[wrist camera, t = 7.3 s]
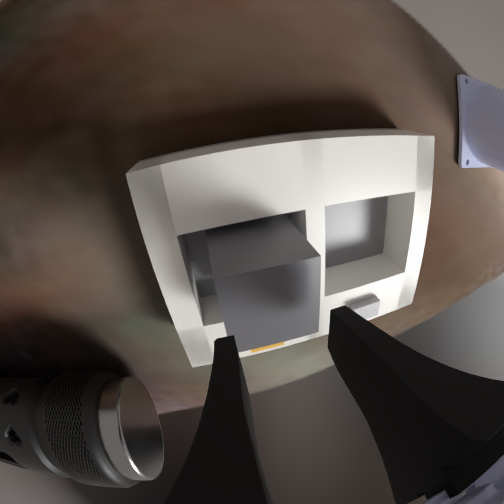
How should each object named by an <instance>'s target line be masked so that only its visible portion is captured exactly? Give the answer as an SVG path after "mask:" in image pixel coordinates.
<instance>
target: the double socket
mask: <svg viewBox="0 0 504 504" xmlns="http://www.w3.org/2000/svg"><path fill="white" fill-rule="evenodd" d="M433 166H434V136H432V135H427V134H423V133H419V132H414V131H409V130H404V129H399V128H360V129H335V130H320V131H307V132H296V133H286V134H277V135H269V136H261V137H254V138H247V139H240V140H234V141H228V142H222V143H216V144H211V145H206V146H201V147H196V148H191V149H186V150H181V151H177V152H172V153H168V154H164V155H160V156H156V157H152V158H148V159H144V160H140V161H139V162H138V163H136V164H135V165H134V166H133V167H132V168H131V169H130V170H129V171H128V172H127V173H126V177H127V181H128V185H129V189H130V193H131V197H132V200H133V204H134V208H135V211H136V215H137V218H138V222H139V225H140V228H141V232H142V235H143V238H144V241H145V245H146V248H147V251H148V254H149V257H150V260H151V263H152V266H153V269H154V272H155V274H156V277H157V280H158V283H159V286H160V288H161V291H162V294H163V297H164V299H165V302H166V305H167V307H168V310H169V312H170V315H171V317H172V320H173V322H174V325H175V327H176V330H177V332H178V335H179V337H180V339H181V342H182V344H183V346H184V349H185V351H186V353H187V356H188V358H189V360H190V362H191V365H192V367H197V366H202V365H208V364H213V356H214V341H215V340H216V339H217V338H222V337H226V336H227V333H226V329H225V325H224V321H223V317H222V313H221V309H220V305H219V301H218V297H217V292H216V288H215V284H214V280H213V274H212V268H211V262H210V256H209V250H208V243H207V237H206V230H205V229H210V228H215V227H219V226H224V225H229V224H234V223H239V222H244V221H249V220H254V219H259V218H264V217H269V216H274V215H279V214H284V215H285V216H286V217H287V218H288V219H289V220H290V221H291V222H292V224H293V225H294V226H295V227H296V228H297V229H298V230H299V231H300V233H301V234H302V235H303V236H304V237H305V238H306V239H307V240H308V242H309V243H310V244H311V245H312V246H313V247H314V248H315V250H316V251H317V252H318V253H319V254H320V255H321V287H320V315H319V332H317V333H314V334H310V335H307V336H303V337H299V338H296V339H292V340H288V341H285V342H281V343H277V344H273V345H269V346H265V347H261V348H256V349H252V350H248V351H243V352H239V357H240V358H241V357H245V356H249V355H254V354H258V353H262V352H266V351H270V350H274V349H277V348H281V347H285V346H289V345H292V344H296V343H299V342H303V341H306V340H310V339H313V338H316V337H320V336H323V335H326V334H329V323H330V310H331V309H334V308H338V307H341V306H344V305H346V306H347V307H349V308H350V309H352V310H353V311H355V312H356V313H357V314H359V315H360V316H362V317H363V318H365V319H366V320H367V321H368V320H371V319H373V318H376V317H379V316H381V315H384V314H387V313H389V312H392V311H394V310H397V309H399V308H402V307H404V306H407V305H409V304H412V301H413V297H414V293H415V289H416V285H417V280H418V276H419V271H420V267H421V262H422V257H423V251H424V246H425V240H426V234H427V227H428V220H429V212H430V203H431V194H432V182H433Z"/></svg>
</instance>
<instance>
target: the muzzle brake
mask: <svg viewBox="0 0 504 504" xmlns="http://www.w3.org/2000/svg"><path fill="white" fill-rule="evenodd" d="M163 451H164V450H163V438H162V431H161V427H160V422H159V419H158V415H157V412H156V409H155V406H154V404H153V401H152V399H151V397H150V395H149V392H148V391H147V389H146V387H145V386H144V385H143V383H142V382H141V381H140V380H138V379H137V378H134V377H123V378H121V377H120V376H119V375H116V374H114V373H112V372H109V371H106V370H97V371H85V372H72V373H65V374H62V375H59V376H56V378H55V379H53V378H51V377H38V378H23V377H4V378H2V377H0V461H2V462H5V463H8V464H12V465H14V466H18V467H21V468H25V469H29V470H32V471H36V472H40V473H45V474H49V475H54V476H59V477H64V478H66V477H71V478H73V479H74V480H76V481H78V482H81V483H83V484H89V485H97V486H106V487H107V486H108V487H119V488H127V487H131V486H133V485H135V484H137V483H139V482H140V481H141V480H153V479H154V478H157V477H158V475H159V474H160V472H161V469H162V465H163V457H164V452H163Z"/></svg>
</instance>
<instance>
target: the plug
mask: <svg viewBox="0 0 504 504" xmlns="http://www.w3.org/2000/svg"><path fill="white" fill-rule="evenodd" d="M205 230H206V237H207V243H208V250H209V256H210V262H211V268H212V274H213V280H214V284H215V288H216V292H217V297H218V301H219V305H220V309H221V313H222V317H223V321H224V325H225V329H226V333H227V336H231V335H234V337H235V341H236V345H237V349H238V353H239V352H243V351H248V350H252V349H256V348H261V347H265V346H269V345H273V344H277V343H281V342H285V341H288V340H292V339H296V338H299V337H303V336H307V335H310V334H314V333H317V332H319V315H320V287H321V255H320V254H319V253H318V252H317V251H316V250H315V248H314V247H313V246H312V245H311V244H310V243H309V242H308V240H307V239H306V238H305V237H304V236H303V235H302V234H301V233H300V231H299V230H298V229H297V228H296V227H295V226H294V225H293V224H292V222H291V221H290V220H289V219H288V218H287V217H286V216H285V215H284V214H279V215H274V216H269V217H264V218H259V219H254V220H249V221H244V222H239V223H234V224H229V225H224V226H219V227H215V228H210V229H205Z"/></svg>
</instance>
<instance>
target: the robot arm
mask: <svg viewBox="0 0 504 504" xmlns="http://www.w3.org/2000/svg"><path fill="white" fill-rule="evenodd" d="M457 84H458V99H459V158H458V164H459V166H460V167H462V168H477V167H494V168H496V169H499V170H501V171H503V172H504V89H500V88H496V87H494V86H492V85H489V84H487V83H484V82H482V81H479V80H477V79H474V78H471V77H469V76H466V75H463V74H458V76H457ZM328 349H329V352H330V354H331V356H332V359H333V361H334V363H335V366H336V368H337V370H338V372H339V373H340V375H341V377H342V379H343V380H344V382H345V384H346V385H347V387H348V389H349V390H350V392H351V394H352V395H353V397H354V399H355V401H356V402H357V404H358V406H359V407H360V409H361V410H362V412H363V414H364V416H365V418H366V420H367V422H368V424H369V427H370V429H371V431H372V434H373V436H374V438H375V441H376V443H377V446H378V449H379V451H380V454H381V456H382V459H383V462H384V465H385V468H386V471H387V474H388V477H389V481H390V485H391V488H392V492H393V496H394V500H395V502H396V504H407V503H409V502H411V501H413V500H415V499H417V498H419V497H421V496H422V495H424V494H425V496H426V498H427V501H425V502H423V503H422V504H504V381H500V380H493V379H488V378H484V377H480V376H476V375H472V374H469V373H466V372H462V371H460V370H457V369H454V368H452V367H449V366H447V365H444V364H442V363H439V362H437V361H435V360H433V359H431V358H428V357H426V356H424V355H422V354H420V353H418V352H416V351H415V350H413V349H411V348H410V347H408V346H406V345H404V344H403V343H401V342H399V341H398V340H396V339H394V338H393V337H391V336H390V335H388V334H387V333H385V332H384V331H382V330H381V329H379V328H378V327H376V326H375V325H373V324H372V323H370V322H369V321H367V320H366V319H365V318H363V317H362V316H360V315H359V314H357V313H356V312H355V311H353V310H352V309H350V308H349V307H347V306H346V305H344V306H341V307H338V308H334V309H331V310H330V323H329V336H328ZM465 491H466V494H465V495H463V496H461V497H459V496H460V495H461V494H463V493H464V492H465ZM457 497H459V498H457ZM456 498H457V499H456ZM455 499H456V500H455ZM163 504H274V502H273V499H272V496H271V493H270V489H269V486H268V483H267V480H266V476H265V473H264V469H263V466H262V463H261V459H260V455H259V450H258V445H257V440H256V434H255V428H254V421H253V416H252V409H251V403H250V397H249V392H248V388H247V384H246V380H245V377H244V373H243V369H242V365H241V361H240V357H239V353H238V349H237V345H236V341H235V337H234V335H231V336H226V337H222V338H217V339H216V340H215V341H214V356H213V365H212V372H211V377H210V382H209V388H208V393H207V397H206V401H205V405H204V408H203V412H202V416H201V419H200V423H199V426H198V429H197V432H196V435H195V438H194V441H193V443H192V446H191V448H190V451H189V453H188V456H187V458H186V460H185V463H184V465H183V467H182V469H181V472H180V474H179V476H178V478H177V479H176V481H175V484H174V485H173V487H172V489H171V491H170V493H169V495H168V496H167V498H166V500H165V502H164V503H163Z"/></svg>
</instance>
